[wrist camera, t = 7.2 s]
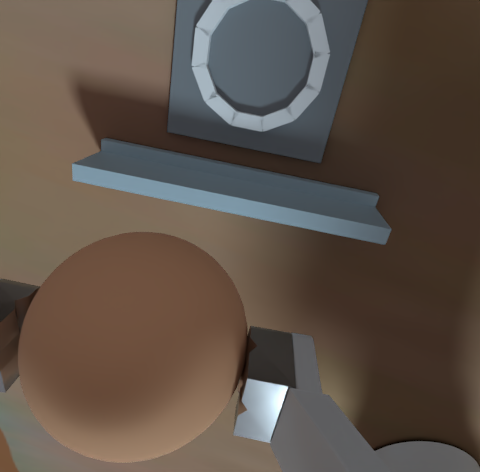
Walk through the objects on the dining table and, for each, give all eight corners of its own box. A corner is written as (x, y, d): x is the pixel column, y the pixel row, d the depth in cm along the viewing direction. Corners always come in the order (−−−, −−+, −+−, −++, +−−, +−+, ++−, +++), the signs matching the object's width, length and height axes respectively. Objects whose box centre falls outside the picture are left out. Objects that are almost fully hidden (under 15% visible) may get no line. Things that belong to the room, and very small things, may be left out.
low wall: (363, 226, 28) (380, 256, 23) (105, 173, 28) (73, 192, 24) (376, 193, 27) (396, 217, 22) (105, 137, 27) (71, 150, 22)
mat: (320, 162, 26) (321, 165, 25) (168, 131, 26) (164, 133, 25) (375, -29, 21) (379, -33, 20) (184, -66, 21) (180, -73, 20)
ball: (238, 351, 11) (217, 534, 7) (93, 324, 11) (-22, 489, 7) (267, 219, 9) (264, 364, 5) (87, 185, 9) (-89, 298, 5)
